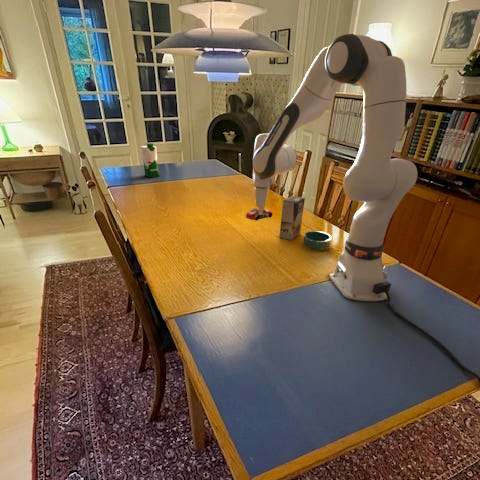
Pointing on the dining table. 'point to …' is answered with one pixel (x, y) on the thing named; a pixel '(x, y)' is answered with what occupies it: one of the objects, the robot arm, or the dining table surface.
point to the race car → (255, 214)
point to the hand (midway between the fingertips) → (261, 211)
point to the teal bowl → (317, 240)
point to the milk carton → (150, 160)
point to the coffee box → (291, 217)
